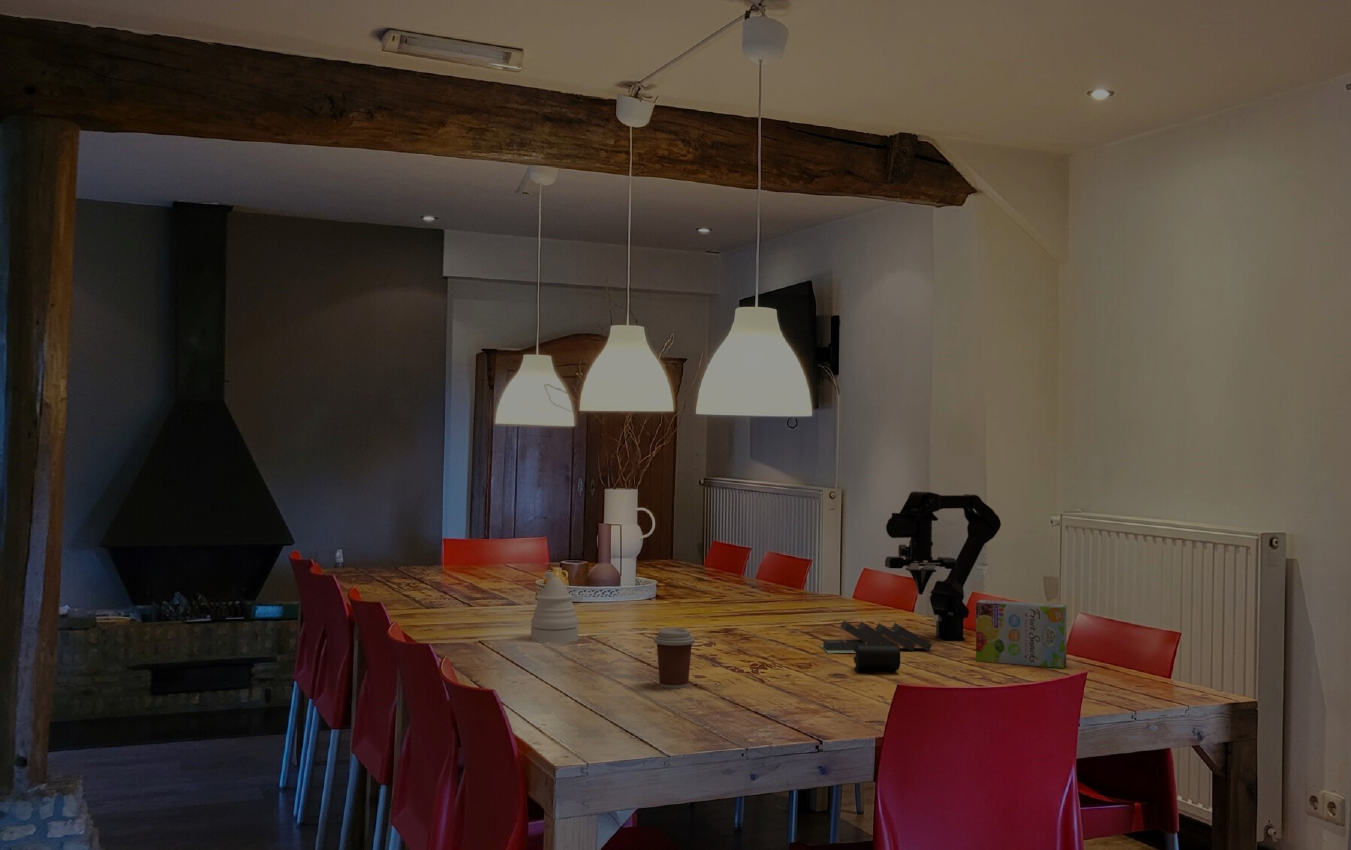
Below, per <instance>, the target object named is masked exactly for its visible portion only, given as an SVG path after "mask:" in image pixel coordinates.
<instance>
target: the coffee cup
mask: <svg viewBox="0 0 1351 850" xmlns="http://www.w3.org/2000/svg"><path fill="white" fill-rule="evenodd" d="M695 641H696V640H695V638H694V637H693V635H691V631H690V630H689V629H686V628H678V627H677V628H676V627H675V628H663V629H659V630H658V634H657V635H656V636H654V638H653V642H654V644H656V648H657V649H656V650H657V665H658V666H657V667H658V677H659V679H658V681H659V685H658V686H659V687H661V688H666V689H683V688H688V687H689V681H690V680H689V679H690V678H689V677H690V667H691V657H692V645H693V644H695Z"/></svg>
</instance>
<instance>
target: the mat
mask: <svg viewBox="0 0 1351 850" xmlns="http://www.w3.org/2000/svg"><path fill="white" fill-rule="evenodd" d="M819 646H820V647H819ZM818 647H819V648H821V647H822V648H823V649H822V648H821V649H822V650H823V651H824V650H825V651H826V652H827V655H834V654H833V653H856V652H855V651H854V650H833V651H827V650H826V649H825V648H824V647H823V644H818ZM825 651H824V652H825ZM826 652H825V653H826Z"/></svg>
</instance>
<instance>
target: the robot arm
mask: <svg viewBox="0 0 1351 850" xmlns="http://www.w3.org/2000/svg"><path fill="white" fill-rule="evenodd" d="M903 504H904V505H903V506H902V507H901V508H902V509H900V511H899V512H892V513H891V517H890V518H888V521H887V523H886V525H885V529H886V530H885V531H886V533H887V536H889V537H890V538H891V539H905V538H906V539H908V538H910V539H909V541H908V546H907V544H899V545H898V552H897V553H898V556H886V557H885V560H884V567H886V568H889V569H903V567H905V570H906V571H908V572H909V573H910V574H911V577H912V579H913V581H914V584H915V587H916V590H917V593H918V595H920V596H922V595H923V594H924V592H925V589H926V586H927V585H928V582H929V580H930V578H931V577H932V575H933V574H934V573H936V572H937V569H936V567H940V568H944V569H946V570H950V571H949V572H948V573H949V574H948V575H947V577H946V578H945V579H944V580H937V581H936V582H935V583H934V586H933V588H932V590H931V591H930V596H929V602H930V605H931V609H932V612H933V616H937V620H936V621H935V624H936V625H935V630H936V631H935V632H936V633H935V637H937V638H938V639H940V640H943V641H965V640H966V638H965V637H964V619H968V617H969V614H970V609H969V608H968V607H967V606H966V604H965V603H964V602H963V600H964V599H965V594H964V586H965V584H966V582H967V579H968V578H969V575H970V574H971V572H972V571H973V570H972V569H973V568H974V566H975V564H976V562H977V560H978V558H979V556H980V554H981V552H982V550H983V548H984V546H985V545H986V544H987V543H988V542H990V541H992V539H993V538H994V537H996V535H997V533H998V532H999V531H1000V529H1001V525H1002V523H1001V519H1000V517H999V515H998V514H997V513H996V512H995V511H994V509H993V508H991V507H990V506H989V505H987V504H986V503H985V502H984V501H983V499H981V497H980V496H978V495H977V494H970V493H968V494H966V493H965V494H963V495H962V494H961V495H960V494H949V495H948V494H947V495H945V494H943V495H941V494H939V493H935V492H931V491H930V492H929V491H917V490H915V491H911V492H910V493H909V495H908V497H907V500H906V501H905V502H904V503H903ZM943 509H948V510H949V509H950V510H951V509H963V514H964V515H963V516H964V518H965V519H966V521H968V523H967V527H966V529H967V538H966V539H965V542H964V544H963V546H962V547H961V549H960V552H959V553H958V556H957V558H955V557H950V556H938V557H937V558H936V559H933V556H932V555H933V554H932V550H933V549H932V547H933V546H934V542H933V538H932V537H933V533H932V532H933V522H935V521H938V520H939V518H938V517H937V516H936V515H935V514H934V513H935V512H939V511H941V510H943Z"/></svg>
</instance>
